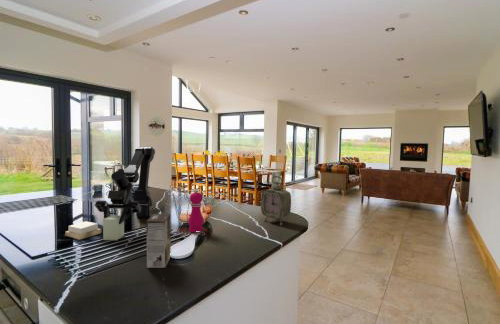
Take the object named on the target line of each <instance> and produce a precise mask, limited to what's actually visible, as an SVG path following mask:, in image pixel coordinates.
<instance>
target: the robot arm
mask: <svg viewBox="0 0 500 324" xmlns="http://www.w3.org/2000/svg"><path fill="white" fill-rule="evenodd" d="M155 154H156V150H155V148H153V146H141V147H135V149H134V153H133V156H132V159H131V160H130V163H129V164H128V166H127V167H125V168H124V169H123V168H118V170H115V171H114V172H113V173H112V174H111V175H110V178H111V180H112V182H113V183H114V185H115V186H116V187H117V188H118V189H117V190H109V191H108V195H107V199H109V201H110V202H111V203H108V202H107V200H97V201H95V203H94V206H95V208H96V209H97V211H98V212H100V213H103V219H104V218H106V217H108V216H110V215H112V211H111V209H117V210H119V209H121V210H122V213H121V215H120V216H121V218H120V220H119V224H121V223H122V222H123V221H124V222H125V221H126V220H127V219H128V218H129V217H130V216H131V215H134V214H135V216H136V218H137V219H146V218H148V219H149V218H150V217H151V215H150V213H151V209H150V208H151V207H152V206H153V203H154V201H153V199H152V197H151V193H150V190H149V188H148V186H149V180H150V179H149V177H150V176H149V175H150V167H151V162H152V161H153V160H154V158H155ZM139 170H140V171H139ZM136 183H138V187H137V188H136V189H135V190H134V185H133V184H136ZM132 192H133V193H134V194H133V197H132V200H131V198H130V196H131V194H132ZM130 200H131V201H130Z"/></svg>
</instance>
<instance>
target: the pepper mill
mask: <svg viewBox="0 0 500 324" xmlns="http://www.w3.org/2000/svg"><path fill="white" fill-rule="evenodd" d="M203 198H204V197H203V195H202V193H200V192H199V190H198V189H196V188H195V189H194V192H192V193H191V194H190V196H189V201H190V207H191V213H190V216H189V217H188V221H187V224H188V226H189V230H188V231H189V233H193V232H196V231H202V232H203V231H204V229H203V225H204V223H205V220H204V217H203V214H202V211H201V210H202V209H201V207H202V201H203ZM193 234H194V233H193Z"/></svg>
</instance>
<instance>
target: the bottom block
mask: <svg viewBox="0 0 500 324" xmlns="http://www.w3.org/2000/svg"><path fill="white" fill-rule="evenodd" d="M99 234H102V228H99V227H98V229H96V230H93V231H90V232H87V233H84V234H77V233H73V232H69V230H67V231H66V230H65V233H64V236H65V237H69V238H73V239H75V240H77V241H78V240H79V241H80V240H83V239H86V238H90V237H92V236H93V237H94V236H96V235H99Z"/></svg>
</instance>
